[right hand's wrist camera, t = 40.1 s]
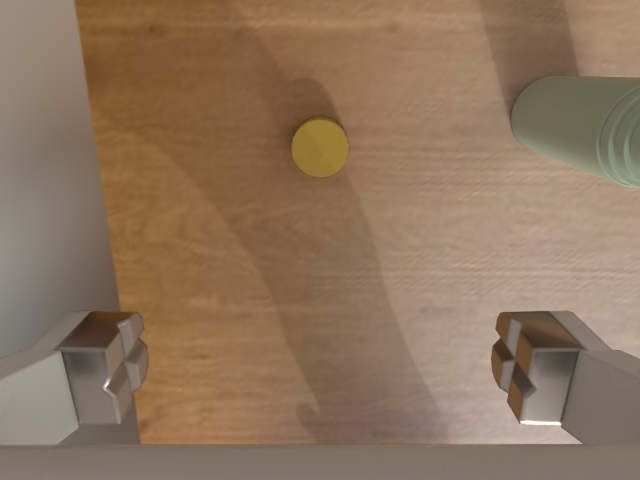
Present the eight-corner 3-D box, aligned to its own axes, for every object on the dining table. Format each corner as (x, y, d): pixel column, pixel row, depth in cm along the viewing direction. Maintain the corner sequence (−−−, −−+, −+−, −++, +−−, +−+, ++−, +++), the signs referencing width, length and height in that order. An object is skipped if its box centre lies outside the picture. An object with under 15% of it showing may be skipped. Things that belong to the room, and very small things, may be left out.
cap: (294, 173, 39) (292, 179, 37) (290, 117, 37) (288, 120, 35) (348, 170, 39) (350, 176, 36) (346, 114, 37) (348, 117, 35)
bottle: (540, 61, 36) (756, 54, 18) (601, 97, 36) (862, 125, 19) (495, 131, 37) (652, 186, 20) (554, 163, 38) (753, 244, 21)
